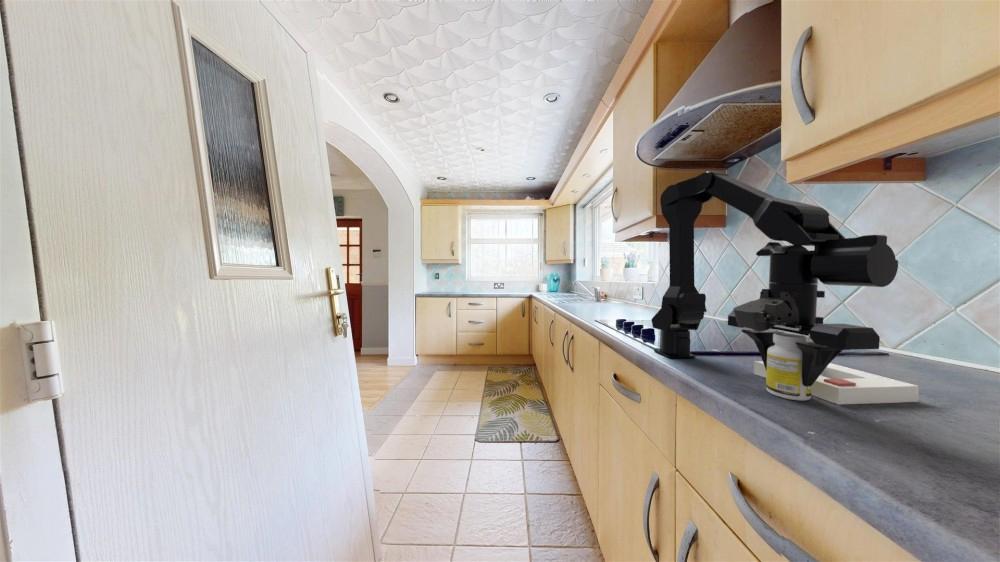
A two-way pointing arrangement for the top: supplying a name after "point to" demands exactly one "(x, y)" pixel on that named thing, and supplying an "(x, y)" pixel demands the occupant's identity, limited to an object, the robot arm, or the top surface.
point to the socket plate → (855, 386)
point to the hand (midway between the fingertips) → (787, 379)
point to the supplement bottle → (786, 368)
